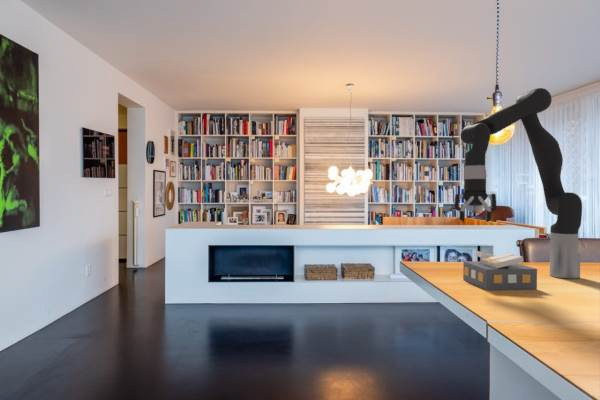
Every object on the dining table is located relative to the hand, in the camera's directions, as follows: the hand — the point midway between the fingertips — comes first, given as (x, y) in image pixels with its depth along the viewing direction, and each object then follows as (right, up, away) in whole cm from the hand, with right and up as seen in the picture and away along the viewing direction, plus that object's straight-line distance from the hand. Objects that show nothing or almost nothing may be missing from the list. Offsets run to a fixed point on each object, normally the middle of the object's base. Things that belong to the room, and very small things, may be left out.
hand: (474, 221), depth 150 cm
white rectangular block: (+6, -14, 0) cm, 15 cm away
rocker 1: (+6, -14, -5) cm, 16 cm away
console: (+6, -22, -5) cm, 24 cm away
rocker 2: (+6, -14, -10) cm, 19 cm away
